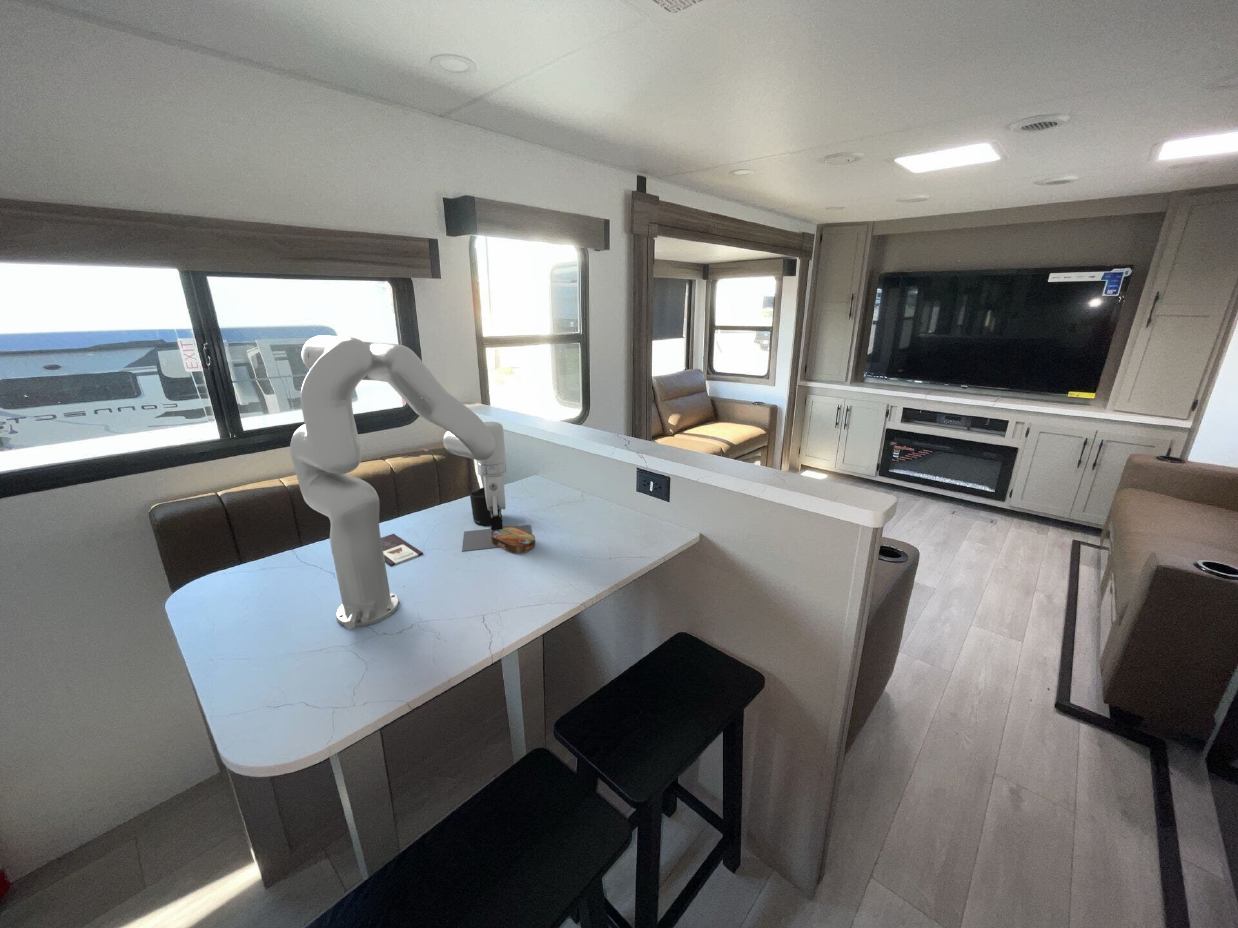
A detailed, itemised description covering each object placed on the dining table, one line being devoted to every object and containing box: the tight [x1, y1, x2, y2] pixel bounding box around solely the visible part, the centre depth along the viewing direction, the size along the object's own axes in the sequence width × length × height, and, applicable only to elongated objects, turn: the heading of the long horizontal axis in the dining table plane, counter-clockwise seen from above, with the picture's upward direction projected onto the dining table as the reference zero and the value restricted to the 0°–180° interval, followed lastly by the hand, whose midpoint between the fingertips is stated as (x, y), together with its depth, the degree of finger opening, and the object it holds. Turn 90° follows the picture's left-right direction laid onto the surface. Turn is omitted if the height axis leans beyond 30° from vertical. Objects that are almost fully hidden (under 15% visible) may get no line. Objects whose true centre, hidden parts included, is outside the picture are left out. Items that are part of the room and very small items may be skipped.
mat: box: [461, 524, 533, 552], centre depth 144 cm, size 13×20×1 cm, turn 105°
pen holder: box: [469, 486, 502, 527], centre depth 154 cm, size 9×9×10 cm
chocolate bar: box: [381, 533, 424, 567], centre depth 136 cm, size 9×1×18 cm
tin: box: [490, 525, 536, 554], centre depth 139 cm, size 15×3×8 cm
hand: (497, 528), depth 137 cm, fingers closed
